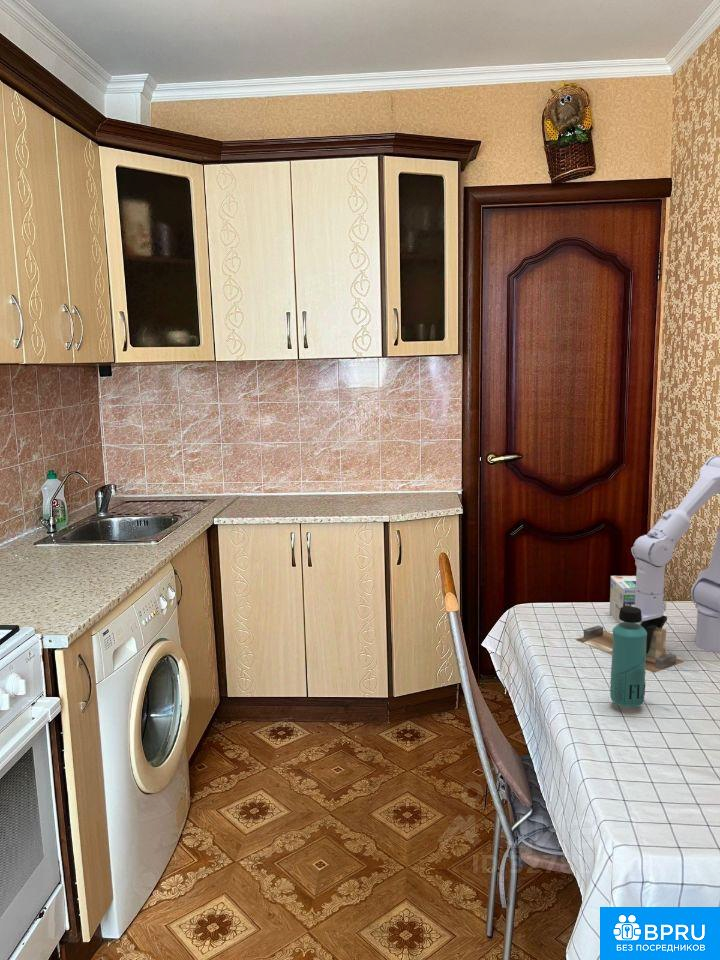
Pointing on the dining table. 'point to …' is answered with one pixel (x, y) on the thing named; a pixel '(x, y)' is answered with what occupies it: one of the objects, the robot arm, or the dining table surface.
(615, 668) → the beverage bottle
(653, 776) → the dining table surface
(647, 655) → the tall tan box
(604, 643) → the brown board with blocks
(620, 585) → the light bulb box
